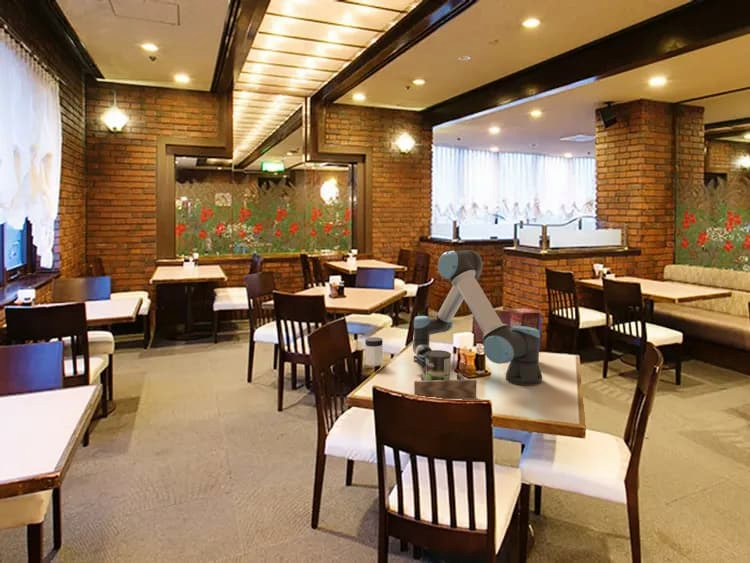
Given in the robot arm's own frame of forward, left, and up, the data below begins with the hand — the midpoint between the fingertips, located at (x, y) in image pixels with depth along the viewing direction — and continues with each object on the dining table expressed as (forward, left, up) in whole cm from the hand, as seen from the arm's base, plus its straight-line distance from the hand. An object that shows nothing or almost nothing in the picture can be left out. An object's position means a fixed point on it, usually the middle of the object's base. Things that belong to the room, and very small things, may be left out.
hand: (434, 369), depth 223 cm
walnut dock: (-1, +15, -6) cm, 16 cm away
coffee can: (-1, +5, -6) cm, 8 cm away
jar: (+23, -30, -6) cm, 38 cm away
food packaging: (-49, -28, -6) cm, 57 cm away
